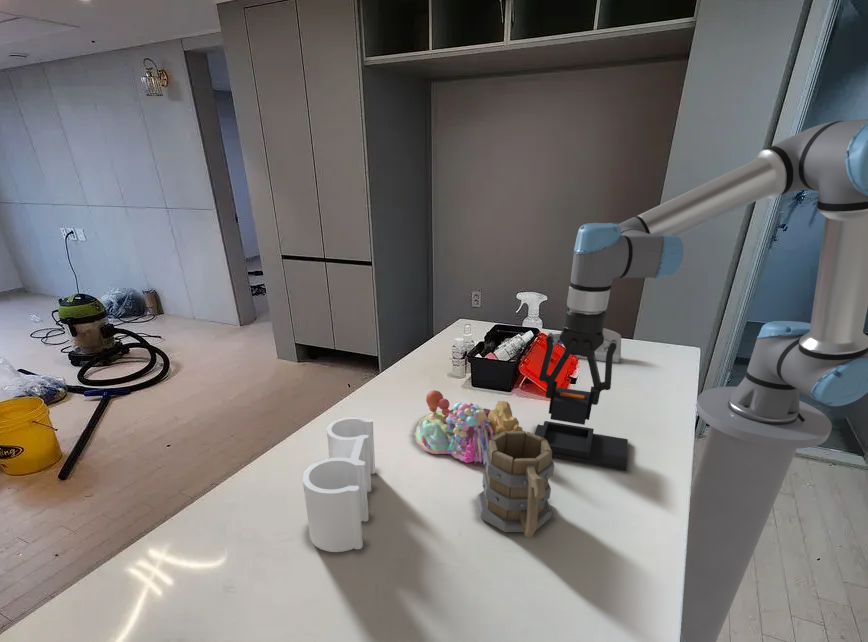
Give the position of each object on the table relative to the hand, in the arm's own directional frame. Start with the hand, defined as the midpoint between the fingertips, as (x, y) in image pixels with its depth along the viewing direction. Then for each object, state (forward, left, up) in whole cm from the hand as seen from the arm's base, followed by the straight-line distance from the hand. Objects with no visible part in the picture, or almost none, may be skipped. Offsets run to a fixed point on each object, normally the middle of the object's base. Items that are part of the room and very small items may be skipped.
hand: (569, 413), depth 110 cm
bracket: (+36, +36, -8) cm, 51 cm away
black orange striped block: (0, 0, 0) cm, 0 cm away
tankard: (+5, +30, -8) cm, 31 cm away
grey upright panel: (-2, -59, -8) cm, 60 cm away
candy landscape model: (+21, +4, -8) cm, 23 cm away
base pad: (-3, 0, -8) cm, 9 cm away
